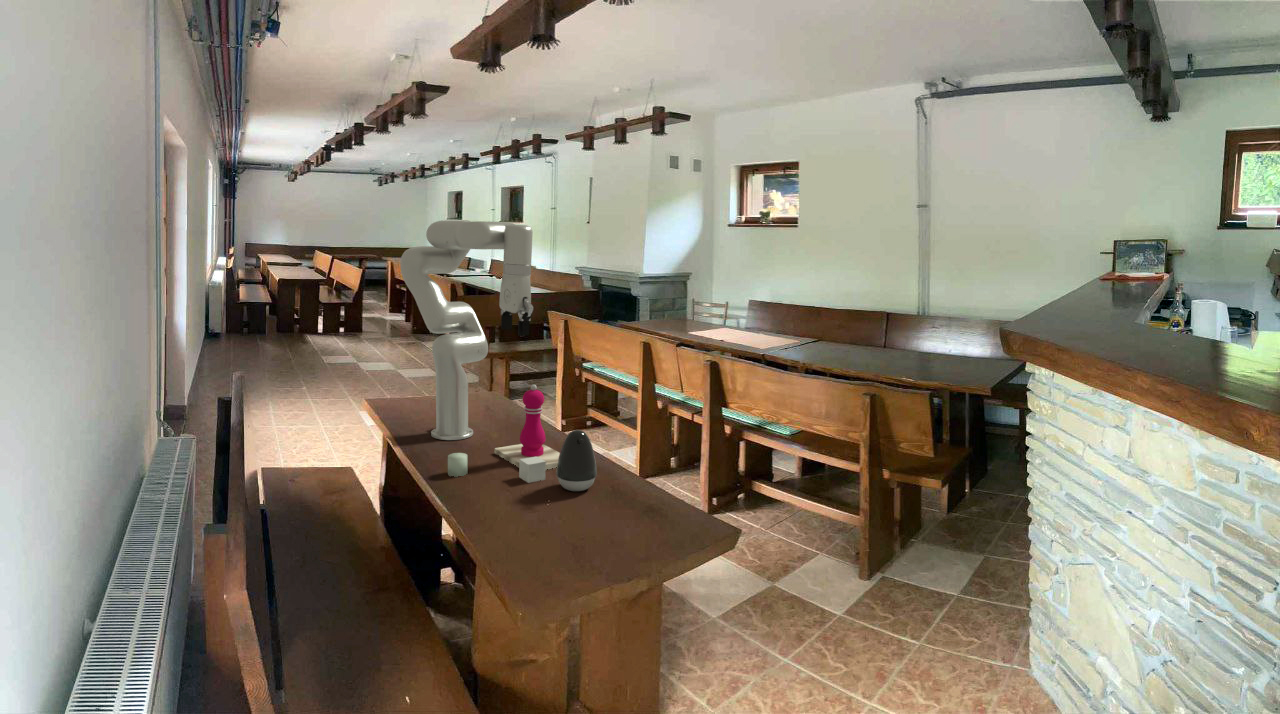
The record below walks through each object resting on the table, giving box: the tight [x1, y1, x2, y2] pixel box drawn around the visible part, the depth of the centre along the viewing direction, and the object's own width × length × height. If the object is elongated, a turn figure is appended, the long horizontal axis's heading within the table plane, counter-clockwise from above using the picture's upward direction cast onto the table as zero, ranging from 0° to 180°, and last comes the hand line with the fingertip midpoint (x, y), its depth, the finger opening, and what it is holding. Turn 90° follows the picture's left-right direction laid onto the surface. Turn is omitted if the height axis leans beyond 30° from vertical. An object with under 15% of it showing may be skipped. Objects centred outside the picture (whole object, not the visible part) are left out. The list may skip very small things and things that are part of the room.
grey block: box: [518, 456, 547, 484], centre depth 193 cm, size 5×5×5 cm
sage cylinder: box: [447, 452, 468, 478], centre depth 194 cm, size 5×5×5 cm
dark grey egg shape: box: [555, 429, 598, 492], centre depth 186 cm, size 10×10×15 cm
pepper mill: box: [519, 384, 546, 457], centre depth 207 cm, size 7×7×20 cm
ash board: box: [494, 443, 560, 471], centre depth 209 cm, size 20×14×2 cm
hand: (514, 332), depth 205 cm, fingers open, 9 cm apart
